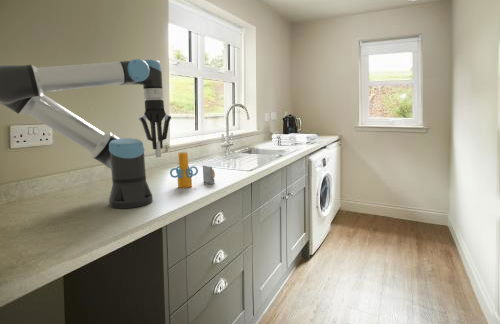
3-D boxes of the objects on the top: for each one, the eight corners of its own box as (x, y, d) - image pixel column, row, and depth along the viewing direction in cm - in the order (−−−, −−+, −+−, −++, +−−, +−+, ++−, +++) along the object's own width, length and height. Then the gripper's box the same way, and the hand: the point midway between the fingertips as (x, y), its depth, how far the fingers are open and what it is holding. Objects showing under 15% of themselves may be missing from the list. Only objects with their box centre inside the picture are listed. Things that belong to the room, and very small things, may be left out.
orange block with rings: (191, 189, 147) (189, 154, 145) (168, 189, 149) (165, 154, 147) (201, 183, 159) (199, 150, 156) (179, 183, 161) (177, 151, 158)
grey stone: (210, 184, 156) (209, 167, 154) (203, 181, 162) (202, 164, 161) (216, 183, 157) (216, 166, 156) (209, 180, 164) (208, 164, 163)
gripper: (140, 99, 136) (145, 159, 140) (172, 98, 143) (176, 156, 146) (135, 100, 142) (140, 157, 146) (166, 99, 149) (170, 154, 153)
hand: (158, 156), depth 146 cm, fingers closed
